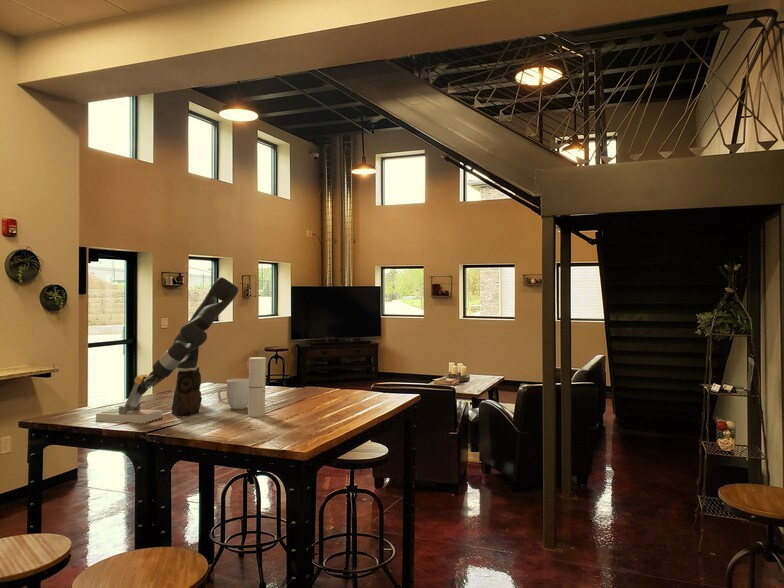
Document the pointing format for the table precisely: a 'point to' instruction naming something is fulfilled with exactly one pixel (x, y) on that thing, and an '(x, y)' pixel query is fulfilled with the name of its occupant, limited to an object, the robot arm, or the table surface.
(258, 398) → the white tall block
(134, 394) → the lever
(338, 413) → the table surface
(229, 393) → the mug
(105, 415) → the switch panel
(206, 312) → the robot arm
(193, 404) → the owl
